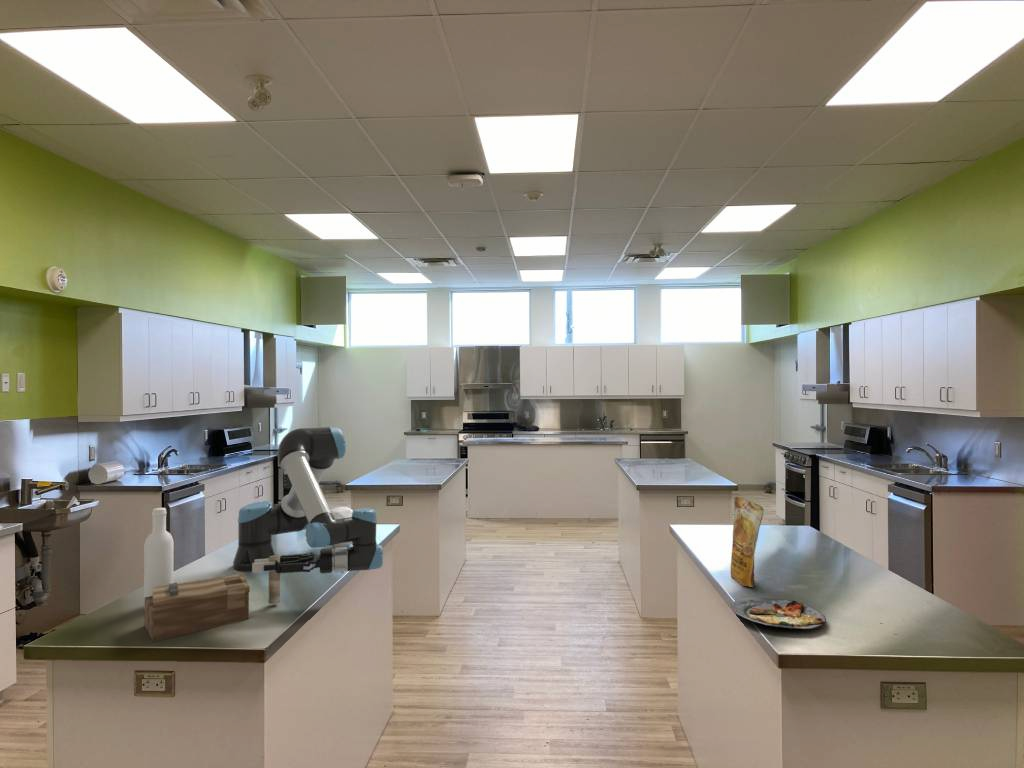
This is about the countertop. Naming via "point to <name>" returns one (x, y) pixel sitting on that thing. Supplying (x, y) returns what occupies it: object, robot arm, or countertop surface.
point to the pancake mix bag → (745, 540)
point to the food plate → (789, 609)
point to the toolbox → (194, 615)
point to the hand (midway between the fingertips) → (253, 566)
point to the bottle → (158, 554)
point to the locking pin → (274, 582)
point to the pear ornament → (339, 514)
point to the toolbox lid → (199, 590)
